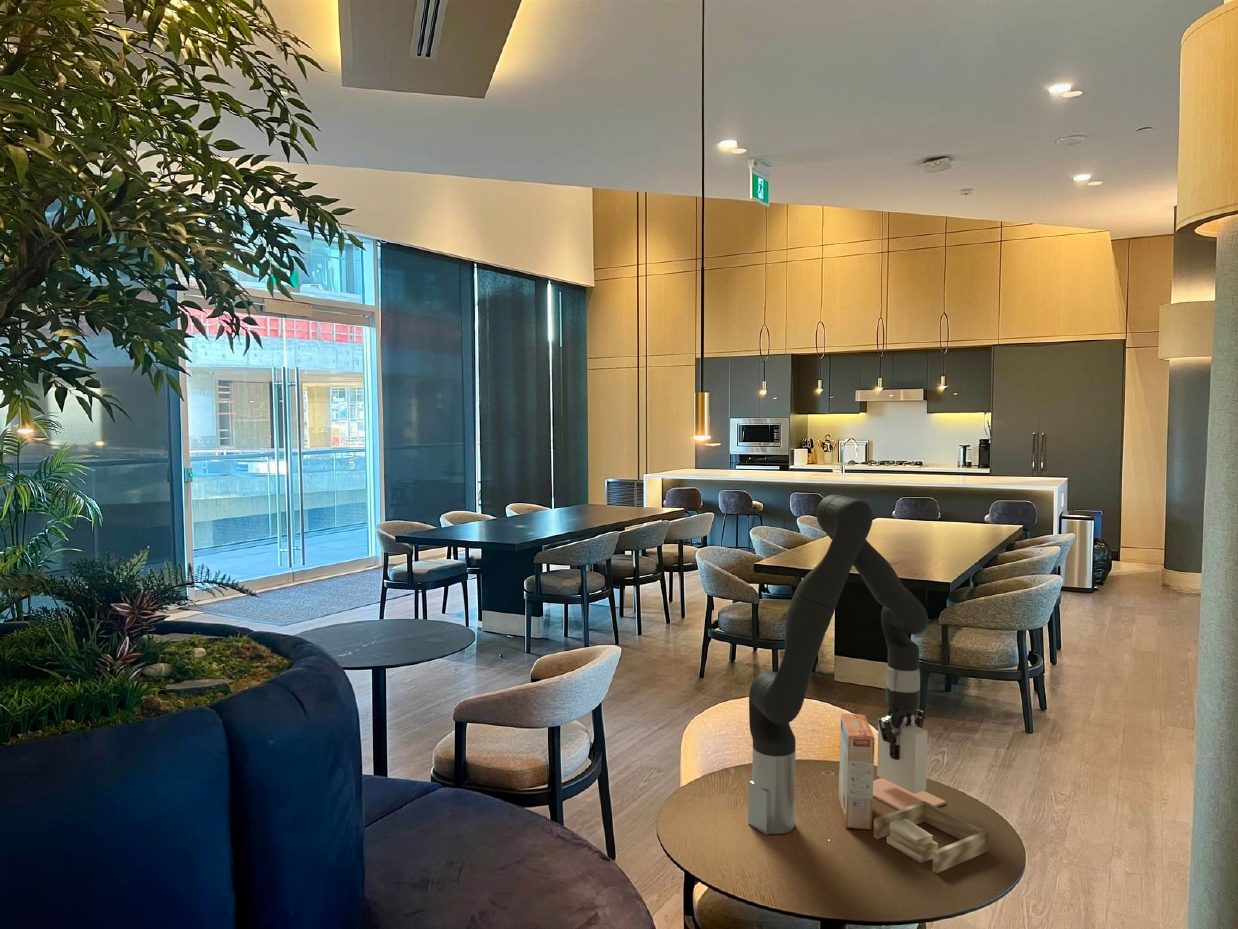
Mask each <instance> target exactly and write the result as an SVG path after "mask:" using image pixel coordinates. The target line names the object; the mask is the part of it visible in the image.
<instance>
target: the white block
mask: <svg viewBox="0 0 1238 929" xmlns="http://www.w3.org/2000/svg"><path fill="white" fill-rule="evenodd" d="M886 717H887V716H884V717H880V718H882V719H884V718H886ZM880 718H878V719H877V762H876V763H877V765H876V767H877V770H876V771H877V772H876V774H877V777H879V778H883V779H885V780H887V781H889V782H891V783H893V784H895V785H897V786H899V787H902V788H904V789H906V790H908V791H910V792H912V793H914V794H916V793H918V792H921V791H927V779H928V778H927V775H928V774H927V770H928V769H927V768H928V730H927V729H925V728H923V727H922V728H919V727H917V726H918V725H917V726H916V725H915V726H914V725H913V726H910V725H908V726H905V727H904V728H903V729H902V735H901V736H900V743H899V745H900V758H899V760H894V759H892V758H891V757H890V743H888V742H886V741H883V738H882V734H881V730H880V726H879V722H878V721H879V719H880ZM892 728H893V729H894V730H897V731H898V730H899V729H896V728H894V727H893V726H892ZM894 738H896V734H894Z"/></svg>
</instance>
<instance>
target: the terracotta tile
mask: <svg viewBox="0 0 1238 929" xmlns="http://www.w3.org/2000/svg"><path fill="white" fill-rule="evenodd" d="M874 797H875V798H874ZM873 798H874V799H876V800H878V801H879V802H881V801H882V803H884V804H885V805H887V806H890V807H891V808H893V809H895V810H896V811H897V810H900V809H903V808H906V807H909V806H911V805H914V804H917V803H920V802H923V801H925V802H928V803H930V804H932V805H934V806H936V807H938V808H939V807H940V806H943V805H946V804H947V802H946V800H944V799H942V798H939V797H938V796H935V795H933V794H932V793H929V792H927V791H926V790H924V791H921V792H918V793H916V794H914V793H912V792H910V791H908V790H906V789H904V788H902V787H899V786H897V785H895V784H893V783H891V782H889V781H887V780H885V779H883V778H881V777H879V778H877V779H875V780H874V779H873Z"/></svg>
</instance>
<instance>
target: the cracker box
mask: <svg viewBox="0 0 1238 929" xmlns="http://www.w3.org/2000/svg"><path fill="white" fill-rule="evenodd" d="M873 733H874V732H873V731H872V728H871V726H870V724H869V720H868V719H867V715H865V714H858V713H841V714H840V737H839V738H840V739H839V740H840V742H839V744H840V745H839V746H840V747H839V772H838V773H839V775H838V802H839V806H840V811H841V814H842V818H843V822H844V825H845V828H847V829H856V830H859V829H860V830H866V831H867V830H869V831H871V830H873V829H872V827H873V799H874V797H873V781H874V769H875V768H874V763H875V744H876V743H875V740H876V739H875V736H874V734H873Z"/></svg>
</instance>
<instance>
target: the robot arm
mask: <svg viewBox="0 0 1238 929" xmlns="http://www.w3.org/2000/svg"><path fill="white" fill-rule="evenodd" d="M873 515H874V514H873V509H872V507H871V506H870V504H869V503H868V502H867V501H865V500H862V499H858V498H855V497H852V496H846V495H841V494H830V495H827V496H825V497H824V498H823V499H821V501H820V502H819V504H818V505H817V509H816V521H817V523H818V525H819V527H820V528H821V530H822V531H823V532H824V533H825V534H826V535H827V536H828V537H829V538H830V539H831V541H830V544H829V546H828V548H827V551H826V553H825V554H824V556H823V558H822V559H821V561H819V562H818V563H817V565H816V566H814V567H813V569H812V570H810V571H809V572H808V573H807V574H806V575H805V576H804V577H803V578H802V579H801V581H799V583H798V585H797V587H796V589H795V591H794V593H793V596H792V599H791V601H790V603H789V606H788V609H787V612H786V616H785V625H784V626H785V627H784V628H785V630H784V633H785V634H784V641H785V642H784V649H783V650H784V652H783V654H782V655H783V656H782V659H781V662H780V664H779V667H778V670H777V672H774V671H763V672H762V673H759V674H758V675H757V676H756V677H755V678H754V680H753V681H752V682H751V685H750V688H749V693H748V714H749V716H748V718H749V719H748V721H749V723H748V724H749V731H750V735H751V738H752V772H751V773H752V774H751V776H752V777H751V778H752V780H749V781H748V796H747V797H748V798H747V799H748V800H747V801H748V805H747V806H748V807H747V809H748V810H747V813H748V814H747V815H748V816H747V823H748V824H749V825H750V826H751V827H753V828H755V829H757V830H758V831H759V832H761V833H762V834H763V835H782V834H787V833H789V832H792V830H793V829H794V828H795V811H796V810H795V809H796V808H795V806H796V803H795V802H796V801H795V800H796V798H795V796H796V792H795V791H796V786H795V785H796V742H797V740H796V736H795V734H794V732H793V730H792V728H791V725H790V723H791V722H793V721H794V720H795V719H796V718H797V717H798V715H799V714H800V712H801V710H802V707H803V705H804V702H805V699H806V698H805V697H806V694H807V691H808V687H809V683H810V678H811V675H812V672H813V668H814V665H815V662H816V660H817V657H818V655H819V652H820V649H821V647H822V644H823V641H824V638H825V636H826V633H827V630H828V629H829V626H830V624H831V621H832V618H833V616H834V613H835V611H836V608H837V606H838V602H839V599H840V596H841V594H842V591H843V589H844V586H845V583H846V581H847V579H848V577H849V574H850V572H851V569H852V568H855V570H856V571H857V573H858V574H859V576H860V577H861V578H862V579H861V580H863V581H864V583H865V584H866V587H867V588H868V589H869V591H870V593H871V594H872V596H873V597H874V599H875V601H876V602H877V603H878V604H880V605H881V606H883V607H882V609H881V614H880V619H881V626H882V630H883V635H884V638H885V643H886V646H887V667H886V674H885V682H886V683H885V703H886V704H887V707H888V710H887V715H886V716H885V717H886V718H884V719H882V718H883V717H880V719H879V718H878V719H879V721H878V720H877V723H878V722H879V726H880V730H881V734H882V738H883V741H886V742H888V743H890V757H891V758H892V759H894V760H899V758H900V745H899V743H900V736H901V735H902V729H903V728H904V727H905V726H908V725H910V726H913V725H914V726H916V725H917V727H919V728H922V729H923V726H924V722H925V718H926V711H925V710H921V709H920V708H919V707H920V703H921V702H920V701H921V700H920V699H921V698H920V697H921V696H920V694H921V674H920V647H919V645H918V644H917V643H916V642H915V641H913V640H912V639H910V638H909V636H908V634H909V635H919V634H922V633H923V632H924V631H925V630H926V628H927V626H928V623H929V620H928V613H927V611H926V608H925V606H923V604H922V603H921V601H920V600H918V598H917V597H915V595H914V594H913V593H912V592H911V591H910V590H908V588H906V587H905V586H904V584H903V583H902V581H901V579H900V577H899V575H898V574H897V573H896V571H895V569H894V568H893V566H892V565H891V564H890V563H889V562H888V560H887V559H886V558H885V557H884V556H883V555H882V554H881V553H880V552H879V551H877V550H876V549H875V548H874V546H873V545H872V544H871V543H870V542H869V541H868V540H867V539H868V538H867V537H868V536H869V533H870V531H871V528H872V525H873V518H874V517H873ZM918 708H919V709H918ZM892 726H893V727H894V728H896V729H899V730H898V731H897V730H894V729H893V728H892ZM894 734H896V738H894Z"/></svg>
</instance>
